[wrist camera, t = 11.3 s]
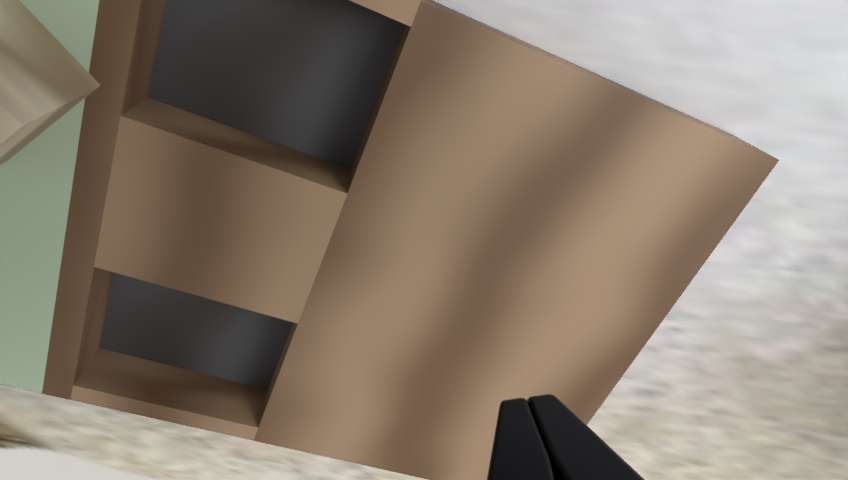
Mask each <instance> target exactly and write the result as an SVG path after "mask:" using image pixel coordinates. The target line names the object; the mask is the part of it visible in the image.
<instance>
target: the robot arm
mask: <svg viewBox="0 0 848 480" xmlns="http://www.w3.org/2000/svg"><path fill="white" fill-rule="evenodd" d="M487 480H644V479H643V478H642V477H641V476H640V475H639V474H638V473H637V472H636V471H635V470H634V469H633V468H632V467H630V466H629V465H628V464H627V463H626V462H625V461H624V460H623V459H622V458H621V457H620V456H619V455H618V454H617V453H616V452H614V451H613V450H612V449H611V448H610V447H609V446H608V445H607V444H606V443H605V442H604V441H603V440H602V439H601V438H599V437H598V436H597V435H596V434H595V433H594V432H593V431H592V430H591V429H590V428H589V427H588V426H587V425H586V424H585V423H583V422H582V421H581V420H580V419H579V418H578V417H577V416H576V415H575V414H574V413H573V412H572V411H571V410H570V409H569V408H567V407H566V406H565V405H564V404H563V403H562V402H561V401H560V400H559V399H558V398H557V397H556V396H554V395H552V394H546V395H539V396H531V397H529V398H528V399H527V400H526V399H525V398H517V399H509V400H503V401H502V402H501V403H500V406H499V412H498V418H497V424H496V430H495V435H494V441H493V447H492V453H491V459H490V464H489V470H488V476H487Z"/></svg>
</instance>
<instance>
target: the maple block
mask: <svg viewBox="0 0 848 480" xmlns="http://www.w3.org/2000/svg"><path fill="white" fill-rule="evenodd" d="M99 86H101V85H100V84H99V83H98V82H97V81H96V80H95V79H94V78H93V76H92V75H91V74H90V73H89V72H88V71H87V70H86V69H85V68H84V67H83V66H82V65H81V64H80V63H79V62H78V61H77V60H76V59H75V58H74V57H73V56H72V55H71V54H70V52H69V51H68V50H67V49H66V48H65V47H64V46H63V45H62V44H61V43H60V42H59V41H58V40H57V39H56V38H55V37H54V36H53V35H52V34H51V33H50V32H49V31H48V30H47V28H46V27H45V26H44V25H43V24H42V23H41V22H40V21H39V20H38V19H37V18H36V17H35V16H34V15H33V14H32V13H31V12H30V11H29V10H28V9H27V8H26V7H25V6H24V4H23V3H22V2H21V1H20V0H0V165H1V164H3V163H5V162H6V161H8V160H9V159H10V158H11V157H13V156H14V155H15V154H16V153H18V152H19V151H20V150H21V149H22V148H24V147H25V146H26V145H27V144H29V143H30V142H31V141H32V140H34V139H35V138H36V137H37V136H39V135H40V134H41V133H42V132H44V131H45V130H46V129H47V128H48V127H50V126H51V125H52V124H53V123H55V122H56V121H57V120H58V119H60V118H61V117H62V116H63V115H65V114H66V113H67V112H68V111H70V110H71V109H72V108H73V107H74V106H76V105H77V104H78V103H79V102H81V101H82V100H83V99H84V98H86V97H87V96H88V95H89V94H91V93H92V92H93V91H94V90H96V89H97V88H98V87H99Z"/></svg>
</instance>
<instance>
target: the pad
mask: <svg viewBox="0 0 848 480" xmlns="http://www.w3.org/2000/svg"><path fill="white" fill-rule="evenodd" d="M20 1H21V2H22V3H23V4H24V6H25V7H26V8H27V9H28V10H29V11H30V12H31V13H32V14H33V15H34V16H35V17H36V18H37V19H38V20H39V21H40V22H41V23H42V24H43V25H44V26H45V27H46V28H47V30H48V31H49V32H50V33H51V34H52V35H53V36H54V37H55V38H56V39H57V40H58V41H59V42H60V43H61V44H62V45H63V46H64V47H65V48H66V49H67V50H68V51H69V52H70V54H71V55H72V56H73V57H74V58H75V59H76V60H77V61H78V62H79V63H80V64H81V65H82V66H83V67H84V68H85V69H86V70H87V71H88V72H89V68H90V61H91V54H92V47H93V41H94V34H95V27H96V20H97V13H98V6H99V0H20ZM84 102H85V98H84V99H83V100H82V101H81V102H79V103H78V104H77V105H76V106H74V107H73V108H72V109H71V110H70V111H68V112H67V113H66V114H65V115H63V116H62V117H61V118H60V119H58V120H57V121H56V122H55V123H53V124H52V125H51V126H50V127H48V128H47V129H46V130H45V131H44V132H42V133H41V134H40V135H39V136H37V137H36V138H35V139H34V140H32V141H31V142H30V143H29V144H27V145H26V146H25V147H24V148H22V149H21V150H20V151H19V152H18V153H16V154H15V155H14V156H13V157H11V158H10V159H9V160H8V161H6V162H5V163H3V164H1V165H0V384H2V385H7V386H11V387H16V388H20V389H25V390H29V391H34V392H38V393H42V390H43V383H44V376H45V369H46V362H47V355H48V349H49V342H50V335H51V328H52V321H53V314H54V307H55V301H56V294H57V287H58V280H59V273H60V266H61V260H62V253H63V246H64V239H65V232H66V225H67V219H68V212H69V205H70V198H71V191H72V184H73V177H74V171H75V164H76V157H77V150H78V143H79V136H80V130H81V123H82V116H83V109H84Z"/></svg>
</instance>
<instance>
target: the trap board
mask: <svg viewBox="0 0 848 480" xmlns="http://www.w3.org/2000/svg"><path fill="white" fill-rule="evenodd" d="M89 73H90V74H91V75H92V76H93V78H94V79H95V80H96V81H97V82H98V83H99V84H100V85H101V86H99V87H98V88H97V89H96V90H94V91H93V92H92V93H91V94H89V95H88V96H87V97H86V98H85V102H84V109H83V116H82V123H81V130H80V136H79V143H78V150H77V157H76V164H75V171H74V177H73V184H72V191H71V198H70V205H69V212H68V219H67V225H66V232H65V239H64V246H63V253H62V260H61V266H60V273H59V280H58V287H57V294H56V301H55V307H54V314H53V321H52V328H51V335H50V342H49V349H48V355H47V362H46V369H45V376H44V383H43V390H42V393H43V394H47V395H52V396H56V397H61V398H65V399H70V400H74V401H79V402H83V403H88V404H92V405H97V406H101V407H106V408H110V409H115V410H119V411H124V412H128V413H133V414H137V415H141V416H146V417H150V418H155V419H159V420H164V421H168V422H173V423H177V424H182V425H186V426H191V427H195V428H200V429H204V430H209V431H213V432H218V433H222V434H227V435H231V436H236V437H240V438H245V439H249V440H254V441H258V442H263V443H267V444H272V445H276V446H281V447H285V448H290V449H294V450H299V451H303V452H308V453H312V454H317V455H321V456H326V457H330V458H335V459H339V460H344V461H348V462H353V463H357V464H362V465H366V466H371V467H375V468H380V469H384V470H389V471H393V472H398V473H402V474H407V475H411V476H415V477H420V478H424V479H429V480H487V476H488V470H489V464H490V459H491V453H492V447H493V441H494V435H495V430H496V424H497V418H498V412H499V406H500V403H501V402H502V401H503V400H509V399H517V398H525V399H526V400H527V399H528V398H529V397H531V396H539V395H546V394H552V395H554V396H556V397H557V398H558V399H559V400H560V401H561V402H562V403H563V404H564V405H565V406H566V407H567V408H569V409H570V410H571V411H572V412H573V413H574V414H575V415H576V416H577V417H578V418H579V419H580V420H581V421H582V422H583V423H585V424H586V425H587V424H588V422H589V421H590V420H591V418H592V417H593V416H594V414H595V413H596V411H597V410H598V409H599V407H600V406H601V405H602V403H603V402H604V400H605V399H606V398H607V396H608V395H609V393H610V392H611V391H612V389H613V388H614V387H615V385H616V384H617V382H618V381H619V380H620V378H621V377H622V376H623V374H624V373H625V371H626V370H627V369H628V367H629V366H630V365H631V363H632V362H633V360H634V359H635V358H636V356H637V355H638V354H639V352H640V351H641V349H642V348H643V347H644V345H645V344H646V343H647V341H648V340H649V338H650V337H651V336H652V334H653V333H654V332H655V330H656V329H657V327H658V326H659V325H660V323H661V322H662V321H663V319H664V318H665V316H666V315H667V314H668V312H669V311H670V310H671V308H672V307H673V305H674V304H675V303H676V301H677V300H678V298H679V297H680V296H681V294H682V293H683V292H684V290H685V289H686V287H687V286H688V285H689V283H690V282H691V281H692V279H693V278H694V276H695V275H696V274H697V272H698V271H699V270H700V268H701V267H702V265H703V264H704V263H705V261H706V260H707V259H708V257H709V256H710V254H711V253H712V252H713V250H714V249H715V248H716V246H717V245H718V243H719V242H720V241H721V239H722V238H723V237H724V235H725V234H726V232H727V231H728V230H729V228H730V227H731V226H732V224H733V223H734V221H735V220H736V219H737V217H738V216H739V215H740V213H741V212H742V210H743V209H744V208H745V206H746V205H747V204H748V202H749V201H750V199H751V198H752V197H753V195H754V194H755V192H756V191H757V190H758V188H759V187H760V186H761V184H762V183H763V181H764V180H765V179H766V177H767V176H768V175H769V173H770V172H771V170H772V169H773V168H774V166H775V165H776V164H777V162H778V161H779V160H778V159H776V158H774V157H772V156H771V155H769V154H767V153H765V152H763V151H761V150H760V149H758V148H756V147H754V146H752V145H750V144H749V143H747V142H745V141H743V140H741V139H739V138H737V137H735V136H733V135H731V134H729V133H726V132H724V131H722V130H720V129H718V128H715V127H713V126H711V125H709V124H706V123H704V122H702V121H700V120H697V119H695V118H693V117H691V116H689V115H686V114H684V113H682V112H680V111H677V110H675V109H673V108H671V107H668V106H666V105H664V104H662V103H660V102H657V101H655V100H653V99H651V98H648V97H646V96H644V95H642V94H639V93H637V92H635V91H633V90H631V89H628V88H626V87H624V86H622V85H619V84H617V83H615V82H613V81H610V80H608V79H606V78H604V77H602V76H599V75H597V74H595V73H593V72H590V71H588V70H586V69H584V68H581V67H579V66H577V65H575V64H573V63H570V62H568V61H566V60H564V59H561V58H559V57H557V56H555V55H552V54H550V53H548V52H546V51H544V50H541V49H539V48H537V47H535V46H532V45H530V44H528V43H526V42H523V41H521V40H519V39H517V38H515V37H512V36H510V35H508V34H506V33H503V32H501V31H499V30H497V29H494V28H492V27H490V26H488V25H486V24H483V23H481V22H479V21H477V20H474V19H472V18H470V17H468V16H465V15H463V14H461V13H459V12H457V11H454V10H452V9H450V8H448V7H445V6H443V5H441V4H439V3H436V2H434V1H432V0H99V6H98V13H97V20H96V27H95V34H94V41H93V47H92V54H91V61H90V68H89Z"/></svg>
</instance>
